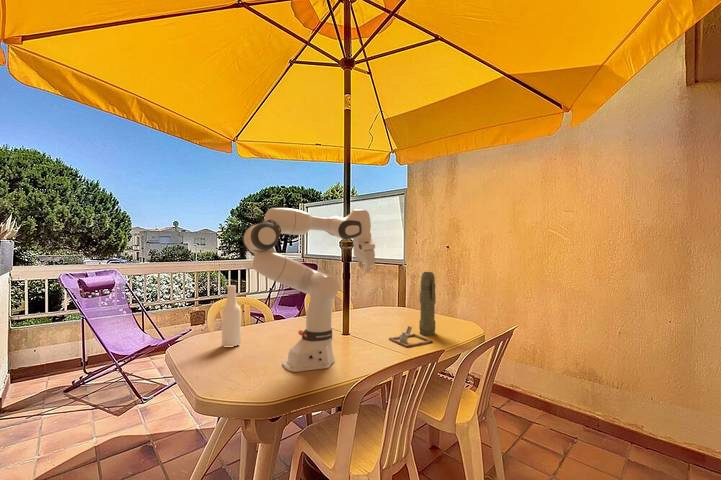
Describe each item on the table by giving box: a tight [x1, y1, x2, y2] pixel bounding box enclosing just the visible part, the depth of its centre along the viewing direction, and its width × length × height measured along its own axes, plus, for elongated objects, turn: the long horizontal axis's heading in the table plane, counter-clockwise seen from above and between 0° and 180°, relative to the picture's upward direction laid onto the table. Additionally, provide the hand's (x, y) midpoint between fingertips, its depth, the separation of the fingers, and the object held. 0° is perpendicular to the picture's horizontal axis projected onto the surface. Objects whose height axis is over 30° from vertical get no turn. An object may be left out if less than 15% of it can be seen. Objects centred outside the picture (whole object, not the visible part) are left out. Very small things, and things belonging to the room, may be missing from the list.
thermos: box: [418, 271, 437, 336], centre depth 197 cm, size 9×12×35 cm
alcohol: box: [221, 284, 242, 347], centre depth 171 cm, size 9×9×30 cm
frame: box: [388, 333, 433, 349], centre depth 181 cm, size 17×15×1 cm
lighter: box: [399, 325, 413, 344], centre depth 180 cm, size 7×2×8 cm, turn 122°
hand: (364, 269), depth 169 cm, fingers open, 8 cm apart
